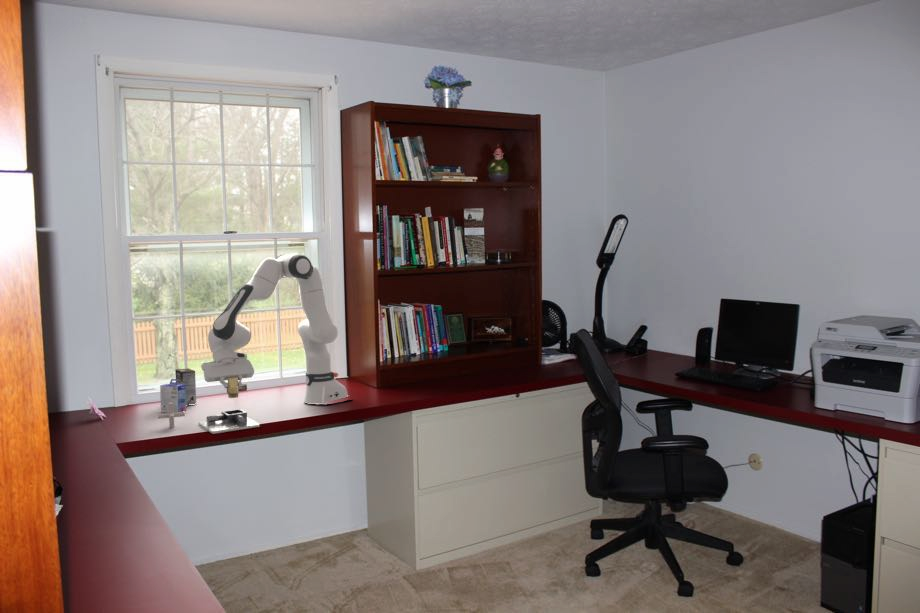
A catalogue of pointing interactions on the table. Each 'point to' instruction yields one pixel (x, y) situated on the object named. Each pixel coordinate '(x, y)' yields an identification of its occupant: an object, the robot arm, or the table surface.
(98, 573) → the table surface
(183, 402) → the ink cartridge box
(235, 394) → the tan upright block
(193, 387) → the coffee box
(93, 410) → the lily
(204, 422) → the base
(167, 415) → the pipe connector
